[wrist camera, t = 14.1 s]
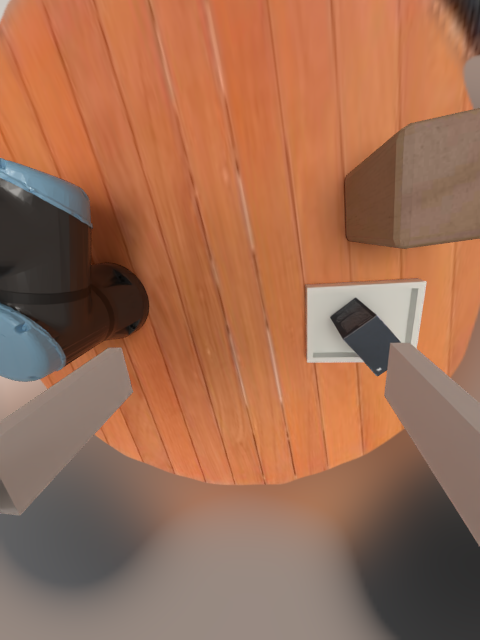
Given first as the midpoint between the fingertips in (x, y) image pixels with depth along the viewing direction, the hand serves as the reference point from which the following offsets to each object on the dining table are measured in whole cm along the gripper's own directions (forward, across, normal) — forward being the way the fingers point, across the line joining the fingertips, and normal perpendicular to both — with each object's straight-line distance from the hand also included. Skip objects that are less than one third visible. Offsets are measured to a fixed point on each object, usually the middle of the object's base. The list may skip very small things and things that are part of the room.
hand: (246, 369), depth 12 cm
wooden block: (+35, +17, +9) cm, 40 cm away
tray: (+35, +15, -10) cm, 39 cm away
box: (+34, +15, -10) cm, 38 cm away
